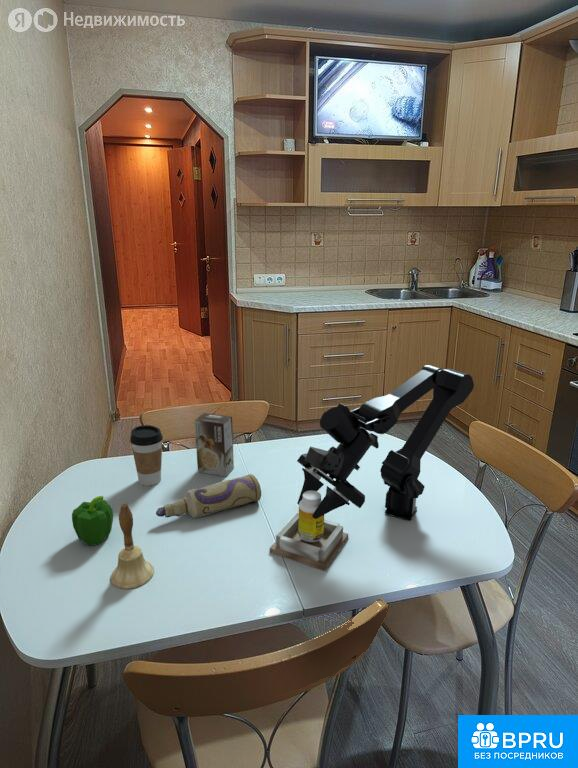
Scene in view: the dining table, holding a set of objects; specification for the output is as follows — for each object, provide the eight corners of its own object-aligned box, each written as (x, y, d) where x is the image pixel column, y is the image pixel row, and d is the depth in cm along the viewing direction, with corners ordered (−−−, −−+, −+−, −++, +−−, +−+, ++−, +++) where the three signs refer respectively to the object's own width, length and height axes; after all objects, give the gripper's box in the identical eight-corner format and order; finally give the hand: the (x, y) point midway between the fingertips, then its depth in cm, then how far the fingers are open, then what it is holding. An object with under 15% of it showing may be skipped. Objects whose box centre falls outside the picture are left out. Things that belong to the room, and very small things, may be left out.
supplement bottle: (317, 546, 105) (318, 504, 102) (294, 539, 108) (294, 497, 105) (327, 532, 110) (328, 492, 107) (305, 526, 112) (305, 486, 109)
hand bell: (108, 592, 95) (100, 519, 90) (112, 564, 102) (104, 496, 97) (153, 585, 96) (147, 514, 92) (154, 559, 104) (148, 491, 99)
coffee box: (235, 467, 144) (233, 415, 140) (226, 477, 139) (224, 424, 134) (206, 462, 147) (204, 412, 142) (196, 472, 141) (193, 419, 136)
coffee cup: (153, 470, 142) (149, 421, 137) (172, 479, 137) (168, 429, 132) (127, 481, 136) (122, 430, 131) (146, 491, 131) (141, 439, 126)
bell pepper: (72, 553, 106) (66, 512, 103) (77, 531, 113) (72, 492, 110) (114, 546, 108) (109, 506, 105) (116, 525, 116) (112, 487, 113)
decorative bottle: (250, 491, 132) (250, 468, 130) (262, 505, 125) (262, 481, 123) (152, 516, 120) (150, 491, 118) (160, 532, 114) (158, 507, 111)
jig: (348, 537, 112) (348, 524, 111) (325, 570, 101) (325, 556, 100) (296, 522, 118) (297, 509, 117) (269, 551, 107) (269, 538, 106)
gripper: (304, 419, 111) (261, 476, 109) (356, 450, 96) (307, 516, 94) (332, 444, 118) (292, 497, 116) (384, 477, 102) (340, 539, 100)
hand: (306, 511), depth 106 cm, fingers closed on supplement bottle, 5 cm apart
